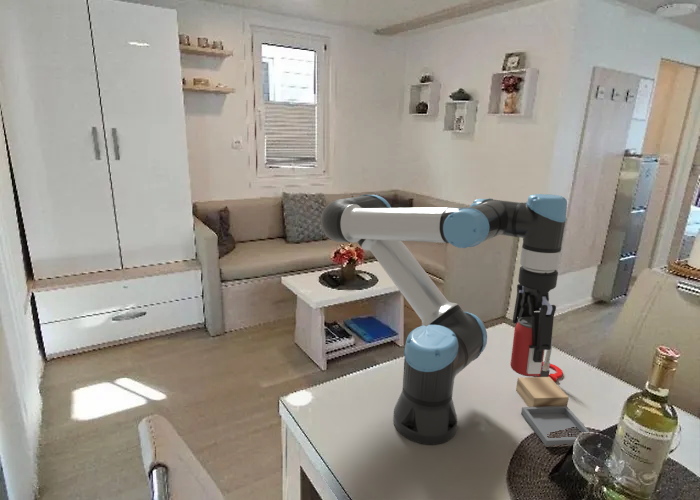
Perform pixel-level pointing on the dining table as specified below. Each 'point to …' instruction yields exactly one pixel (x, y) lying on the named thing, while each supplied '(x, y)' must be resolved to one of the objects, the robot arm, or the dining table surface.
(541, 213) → the robot arm
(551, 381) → the block
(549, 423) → the charcoal tray
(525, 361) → the beer can
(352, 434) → the dining table surface
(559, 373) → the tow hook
